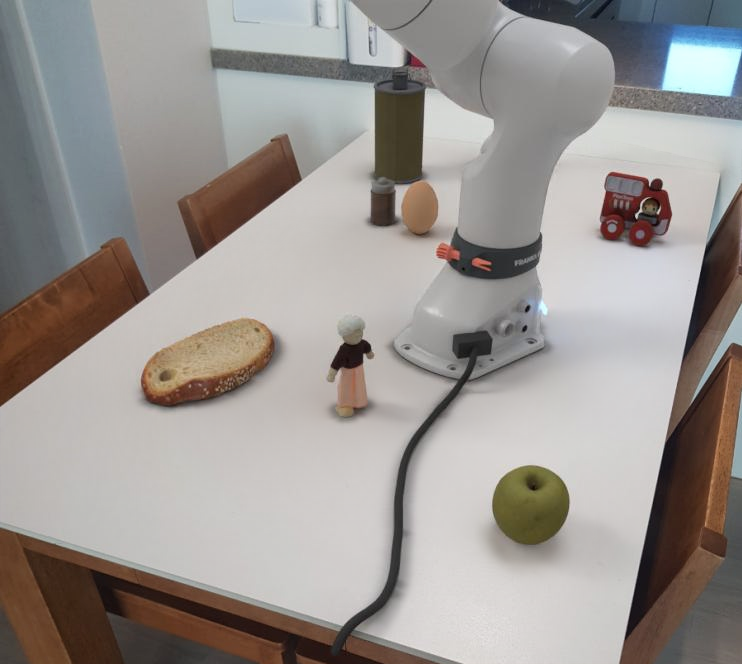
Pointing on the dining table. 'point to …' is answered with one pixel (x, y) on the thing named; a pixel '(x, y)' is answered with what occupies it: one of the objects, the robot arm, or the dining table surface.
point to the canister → (399, 127)
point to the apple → (530, 504)
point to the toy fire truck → (634, 208)
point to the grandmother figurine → (350, 366)
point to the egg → (419, 207)
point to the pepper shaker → (383, 202)
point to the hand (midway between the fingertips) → (469, 19)
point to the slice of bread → (208, 362)
